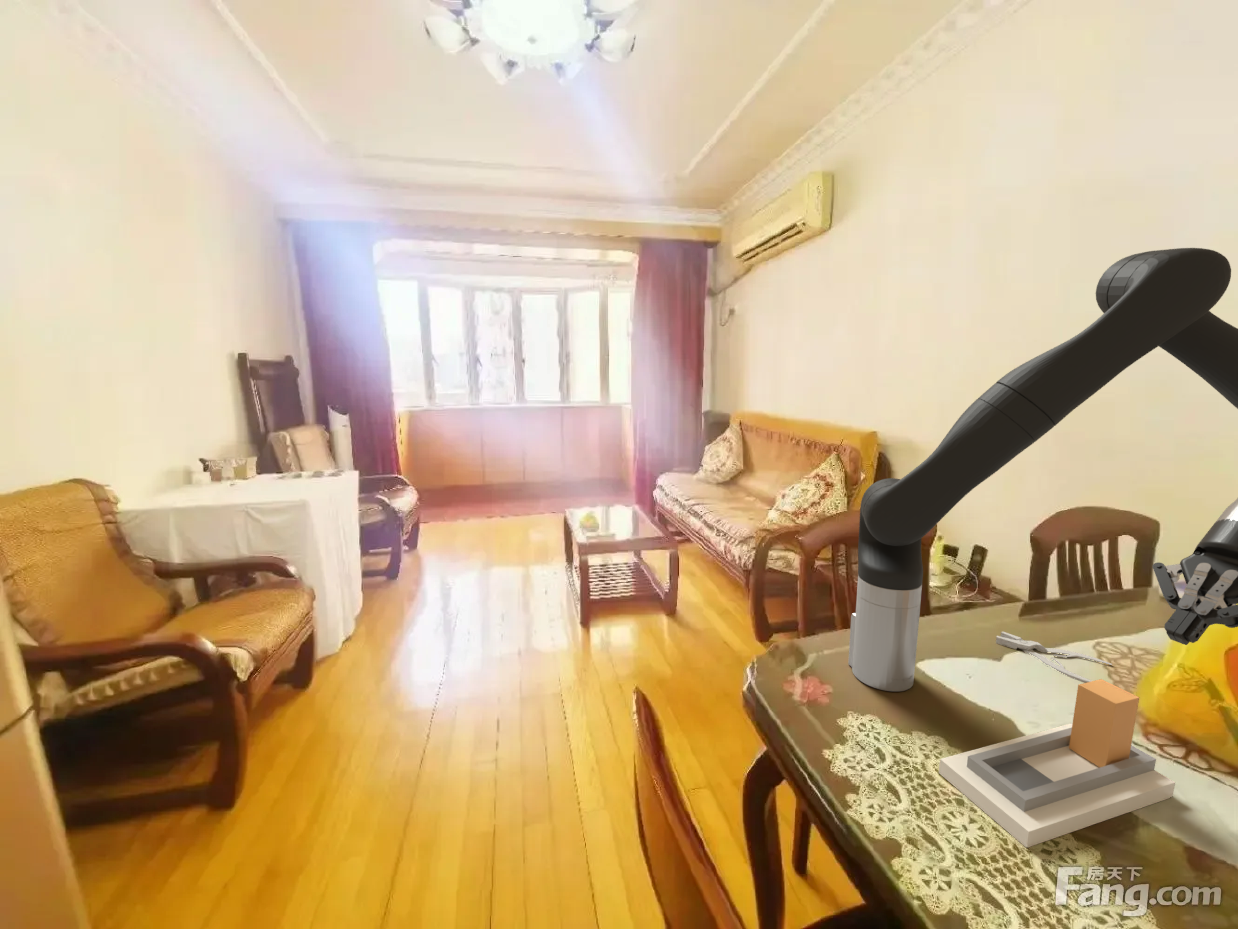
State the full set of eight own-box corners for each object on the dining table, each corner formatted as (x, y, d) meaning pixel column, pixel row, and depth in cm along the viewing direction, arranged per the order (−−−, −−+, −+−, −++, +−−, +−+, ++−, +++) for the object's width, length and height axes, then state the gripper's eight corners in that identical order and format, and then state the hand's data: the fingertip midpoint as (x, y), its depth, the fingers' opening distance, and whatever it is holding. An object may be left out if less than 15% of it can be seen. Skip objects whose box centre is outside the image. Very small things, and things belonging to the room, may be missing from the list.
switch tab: (1068, 748, 67) (1078, 684, 65) (1091, 741, 68) (1101, 679, 66) (1104, 770, 63) (1115, 703, 61) (1128, 763, 64) (1139, 697, 62)
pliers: (1098, 679, 82) (988, 642, 94) (1096, 688, 83) (987, 650, 95) (1113, 658, 88) (1008, 625, 100) (1111, 667, 88) (1007, 633, 100)
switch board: (938, 772, 66) (941, 748, 65) (1070, 735, 72) (1074, 713, 71) (1026, 847, 55) (1030, 819, 55) (1172, 796, 61) (1177, 771, 61)
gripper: (1178, 506, 72) (1103, 601, 71) (1328, 533, 59) (1239, 649, 58) (1197, 538, 74) (1125, 631, 73) (1345, 571, 62) (1260, 683, 61)
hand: (1176, 639), depth 66 cm, fingers closed
